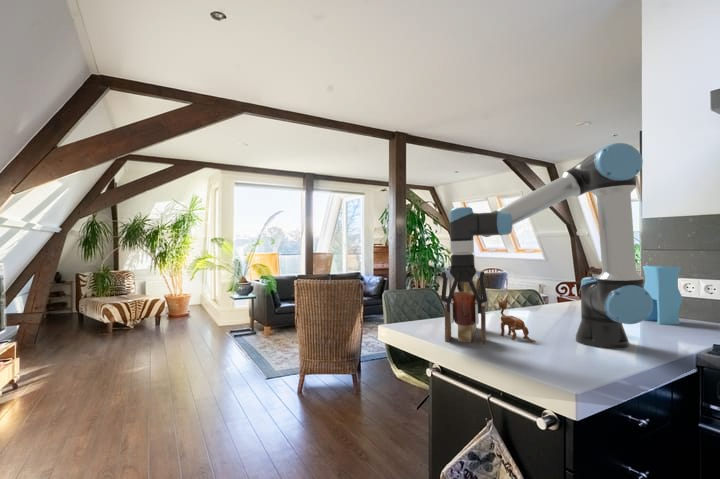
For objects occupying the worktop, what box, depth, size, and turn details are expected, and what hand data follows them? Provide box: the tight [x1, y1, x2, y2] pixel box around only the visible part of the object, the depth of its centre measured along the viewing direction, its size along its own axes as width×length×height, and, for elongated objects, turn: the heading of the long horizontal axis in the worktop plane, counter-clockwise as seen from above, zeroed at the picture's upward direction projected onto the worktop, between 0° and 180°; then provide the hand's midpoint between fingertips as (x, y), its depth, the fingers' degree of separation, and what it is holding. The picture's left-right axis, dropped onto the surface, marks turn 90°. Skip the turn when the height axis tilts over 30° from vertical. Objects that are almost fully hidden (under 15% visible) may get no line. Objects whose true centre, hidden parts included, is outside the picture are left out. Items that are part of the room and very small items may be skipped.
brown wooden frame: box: [444, 300, 487, 346], centre depth 130 cm, size 13×8×13 cm, turn 69°
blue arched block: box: [642, 265, 683, 325], centre depth 158 cm, size 10×10×25 cm
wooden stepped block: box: [457, 279, 477, 343], centre depth 140 cm, size 4×25×20 cm, turn 158°
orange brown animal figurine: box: [498, 298, 537, 343], centre depth 132 cm, size 18×7×14 cm, turn 19°
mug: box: [452, 291, 477, 326], centre depth 121 cm, size 12×9×10 cm
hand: (464, 322), depth 121 cm, fingers closed on mug, 7 cm apart
